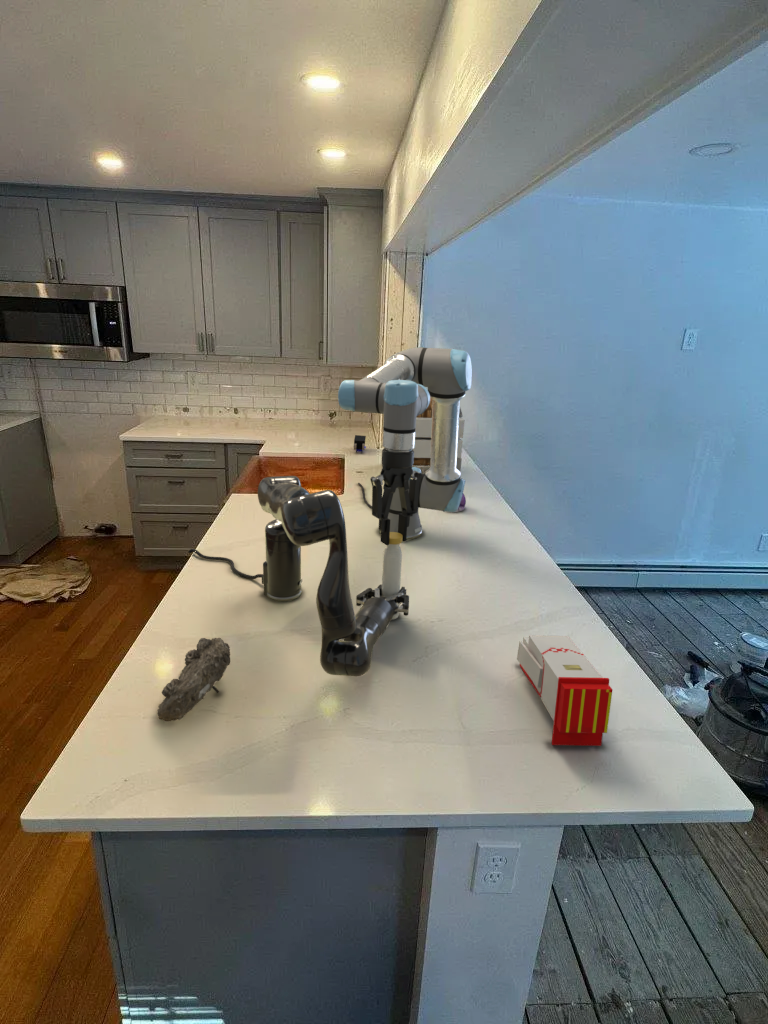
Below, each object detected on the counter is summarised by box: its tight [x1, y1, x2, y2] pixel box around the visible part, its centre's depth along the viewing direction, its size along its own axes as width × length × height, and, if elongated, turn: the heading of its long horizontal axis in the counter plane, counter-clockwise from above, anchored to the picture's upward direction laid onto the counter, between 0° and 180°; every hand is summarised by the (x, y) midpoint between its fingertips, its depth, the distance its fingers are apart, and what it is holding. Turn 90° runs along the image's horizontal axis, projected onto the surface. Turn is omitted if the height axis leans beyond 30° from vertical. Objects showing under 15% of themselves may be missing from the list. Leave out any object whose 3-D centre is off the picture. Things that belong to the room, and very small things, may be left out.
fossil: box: [157, 637, 231, 723], centre depth 113 cm, size 22×10×15 cm
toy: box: [516, 634, 613, 747], centre depth 116 cm, size 12×13×30 cm
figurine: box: [454, 471, 467, 513], centre depth 225 cm, size 9×10×15 cm
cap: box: [389, 532, 403, 545], centre depth 139 cm, size 4×4×2 cm
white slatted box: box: [412, 397, 465, 472], centre depth 268 cm, size 34×33×41 cm
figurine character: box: [353, 434, 367, 454], centre depth 311 cm, size 7×8×15 cm
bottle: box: [381, 543, 403, 621], centre depth 143 cm, size 5×5×22 cm
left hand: (393, 588), depth 147 cm, fingers closed on bottle, 4 cm apart
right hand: (393, 541), depth 140 cm, fingers closed on cap, 4 cm apart
